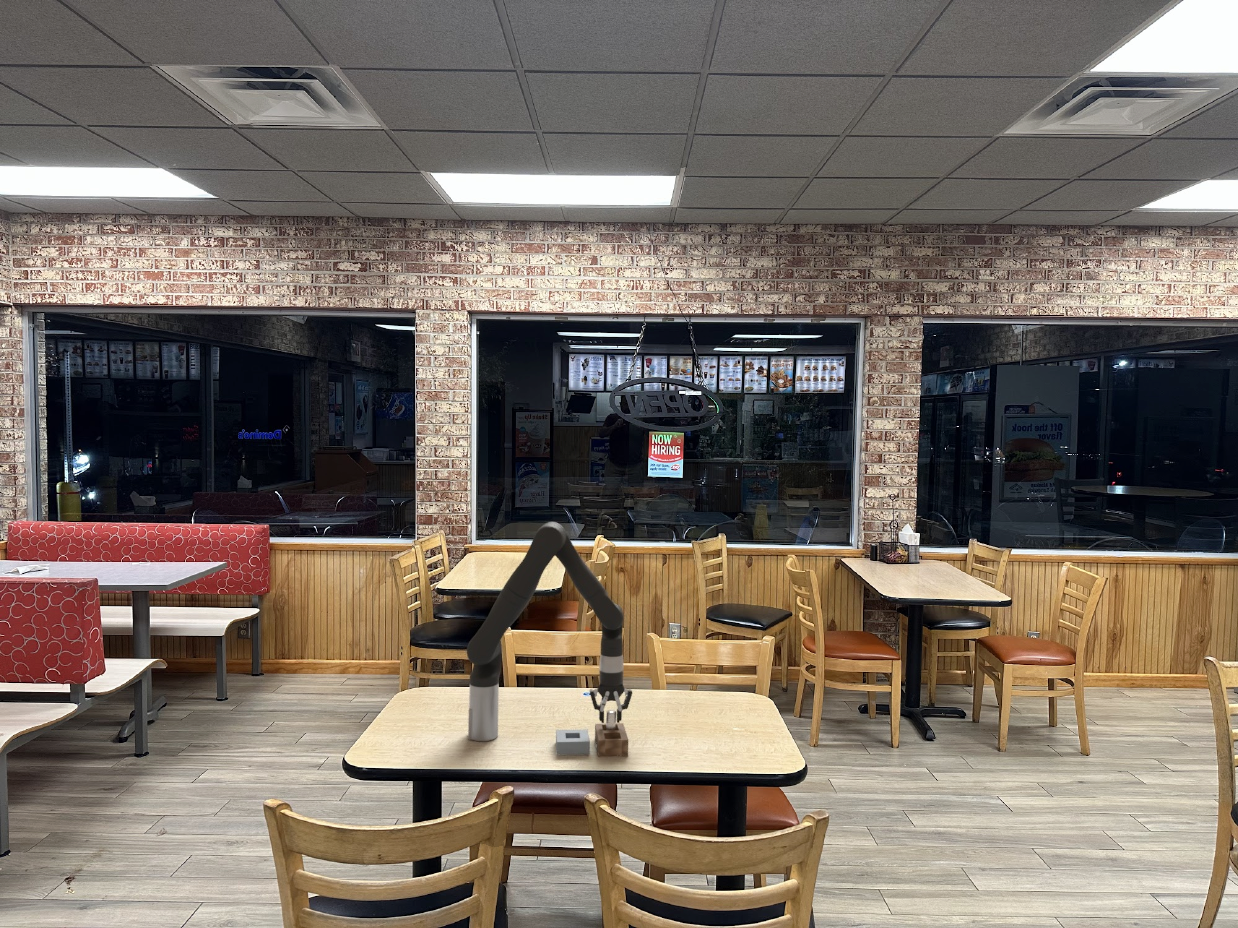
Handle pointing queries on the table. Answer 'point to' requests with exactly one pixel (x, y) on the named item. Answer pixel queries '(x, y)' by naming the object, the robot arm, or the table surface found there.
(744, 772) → the table surface
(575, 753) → the socket block
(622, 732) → the walnut rack
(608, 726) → the steel rod
